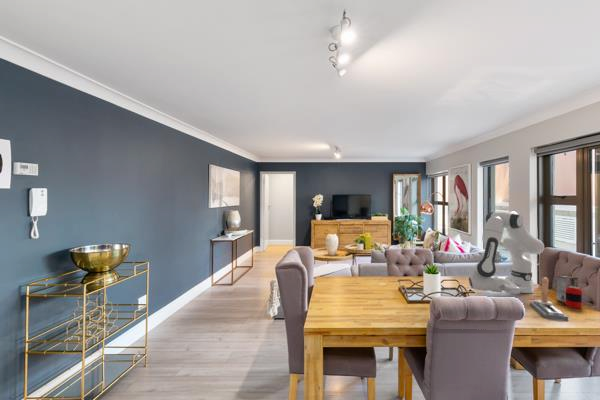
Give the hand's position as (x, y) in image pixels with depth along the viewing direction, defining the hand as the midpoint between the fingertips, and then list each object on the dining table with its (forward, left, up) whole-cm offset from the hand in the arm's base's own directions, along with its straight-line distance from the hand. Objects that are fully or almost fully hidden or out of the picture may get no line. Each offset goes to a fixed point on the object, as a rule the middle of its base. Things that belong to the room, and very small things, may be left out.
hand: (523, 287), depth 193 cm
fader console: (+9, +8, -12) cm, 17 cm away
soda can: (-1, +33, -13) cm, 36 cm away
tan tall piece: (+4, +10, -10) cm, 15 cm away
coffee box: (-11, +38, -13) cm, 42 cm away
